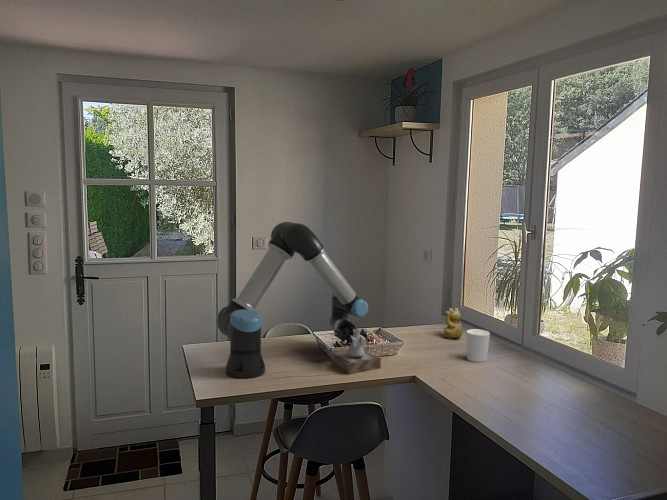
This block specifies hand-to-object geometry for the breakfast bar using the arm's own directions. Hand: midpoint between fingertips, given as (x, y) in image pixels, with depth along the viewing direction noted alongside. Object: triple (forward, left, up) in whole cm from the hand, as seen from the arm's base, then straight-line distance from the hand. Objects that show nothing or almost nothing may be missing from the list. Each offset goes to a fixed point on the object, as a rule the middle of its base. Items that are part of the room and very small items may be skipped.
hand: (360, 342), depth 213 cm
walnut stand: (+2, +5, -11) cm, 13 cm away
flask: (+2, +5, -6) cm, 8 cm away
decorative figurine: (+71, +18, -12) cm, 74 cm away
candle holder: (+54, -12, -12) cm, 56 cm away
